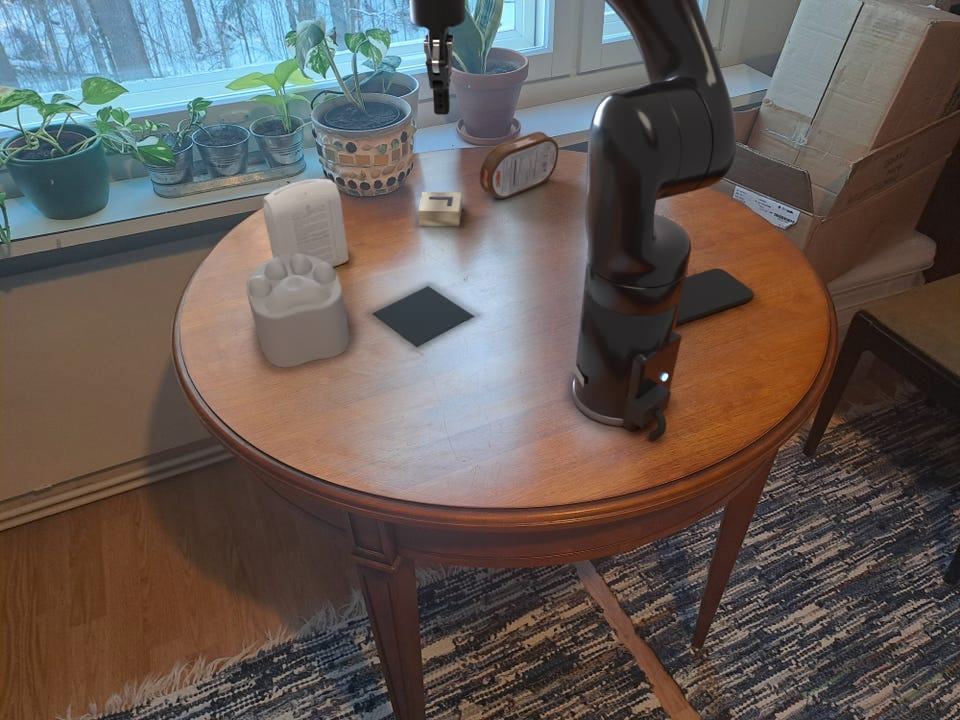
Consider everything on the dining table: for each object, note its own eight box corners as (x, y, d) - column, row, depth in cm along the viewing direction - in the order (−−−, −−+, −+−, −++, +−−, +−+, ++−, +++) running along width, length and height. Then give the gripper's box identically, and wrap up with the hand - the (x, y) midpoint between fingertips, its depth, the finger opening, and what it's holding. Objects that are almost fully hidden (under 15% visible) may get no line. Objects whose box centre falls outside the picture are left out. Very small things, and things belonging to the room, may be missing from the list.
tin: (546, 173, 119) (549, 124, 114) (560, 179, 117) (563, 130, 112) (478, 200, 112) (477, 149, 106) (490, 207, 110) (491, 156, 105)
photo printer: (341, 249, 101) (328, 167, 93) (354, 262, 98) (342, 179, 90) (272, 271, 97) (252, 187, 89) (284, 285, 94) (265, 201, 86)
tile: (461, 207, 110) (461, 191, 109) (459, 226, 106) (458, 210, 104) (423, 206, 110) (422, 191, 109) (419, 225, 106) (418, 210, 104)
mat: (473, 316, 88) (473, 315, 88) (416, 346, 84) (416, 346, 84) (428, 286, 93) (428, 285, 93) (372, 313, 89) (372, 313, 89)
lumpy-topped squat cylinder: (267, 372, 80) (251, 311, 75) (252, 310, 90) (236, 251, 84) (357, 351, 83) (347, 290, 78) (333, 293, 92) (323, 234, 87)
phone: (625, 295, 90) (719, 266, 95) (624, 300, 91) (718, 271, 95) (660, 327, 85) (758, 294, 90) (659, 332, 85) (756, 299, 90)
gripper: (461, -4, 90) (464, 130, 101) (467, -27, 100) (469, 96, 111) (402, -4, 90) (411, 129, 101) (414, -27, 100) (422, 96, 111)
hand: (442, 112), depth 106 cm, fingers closed
